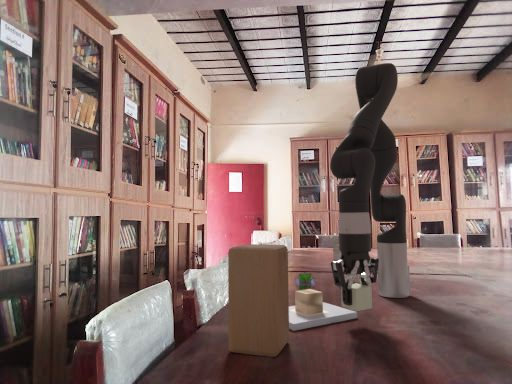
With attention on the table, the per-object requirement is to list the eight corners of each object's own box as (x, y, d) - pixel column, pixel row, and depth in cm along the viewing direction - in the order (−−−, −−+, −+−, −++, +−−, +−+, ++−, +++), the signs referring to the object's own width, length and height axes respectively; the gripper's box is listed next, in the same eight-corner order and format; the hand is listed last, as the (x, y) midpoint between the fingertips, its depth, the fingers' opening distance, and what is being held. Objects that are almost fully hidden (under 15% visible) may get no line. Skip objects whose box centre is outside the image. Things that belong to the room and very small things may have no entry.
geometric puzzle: (317, 287, 121) (314, 266, 127) (296, 287, 122) (295, 266, 127) (314, 297, 127) (312, 276, 132) (295, 297, 127) (293, 276, 132)
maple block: (310, 307, 97) (310, 288, 97) (322, 312, 92) (322, 292, 93) (295, 310, 94) (295, 290, 95) (307, 314, 90) (307, 294, 90)
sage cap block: (356, 303, 90) (356, 283, 90) (372, 308, 85) (371, 286, 86) (341, 306, 87) (340, 285, 87) (356, 311, 83) (356, 289, 83)
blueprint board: (320, 306, 104) (320, 301, 104) (357, 318, 92) (356, 311, 92) (261, 316, 94) (261, 310, 94) (293, 330, 82) (293, 323, 82)
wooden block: (290, 341, 75) (288, 244, 76) (277, 359, 66) (275, 248, 67) (245, 337, 78) (244, 243, 80) (226, 353, 69) (226, 247, 70)
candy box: (343, 280, 147) (342, 243, 148) (353, 281, 145) (352, 243, 146) (333, 284, 140) (332, 244, 142) (343, 285, 138) (342, 244, 139)
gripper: (343, 233, 80) (345, 311, 79) (387, 231, 88) (390, 302, 87) (321, 232, 87) (323, 304, 86) (363, 230, 94) (366, 296, 93)
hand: (356, 302), depth 86 cm, fingers closed on sage cap block, 5 cm apart
